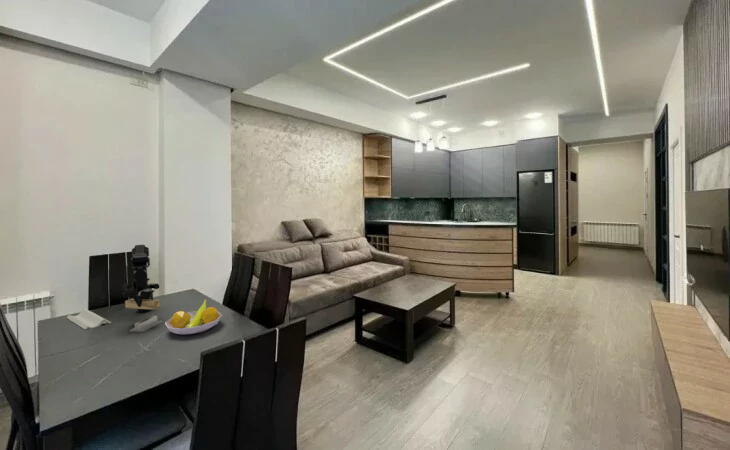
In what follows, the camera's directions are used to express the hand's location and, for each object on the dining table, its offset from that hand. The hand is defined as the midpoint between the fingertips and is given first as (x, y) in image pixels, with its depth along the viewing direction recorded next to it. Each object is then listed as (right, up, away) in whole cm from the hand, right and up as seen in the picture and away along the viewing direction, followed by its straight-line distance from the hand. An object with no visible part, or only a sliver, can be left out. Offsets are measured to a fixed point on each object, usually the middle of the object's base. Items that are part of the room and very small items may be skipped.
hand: (142, 305), depth 169 cm
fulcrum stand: (+2, -12, 0) cm, 12 cm away
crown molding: (-38, -12, +9) cm, 41 cm away
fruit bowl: (+31, -12, -3) cm, 33 cm away
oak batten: (0, -1, 0) cm, 1 cm away
